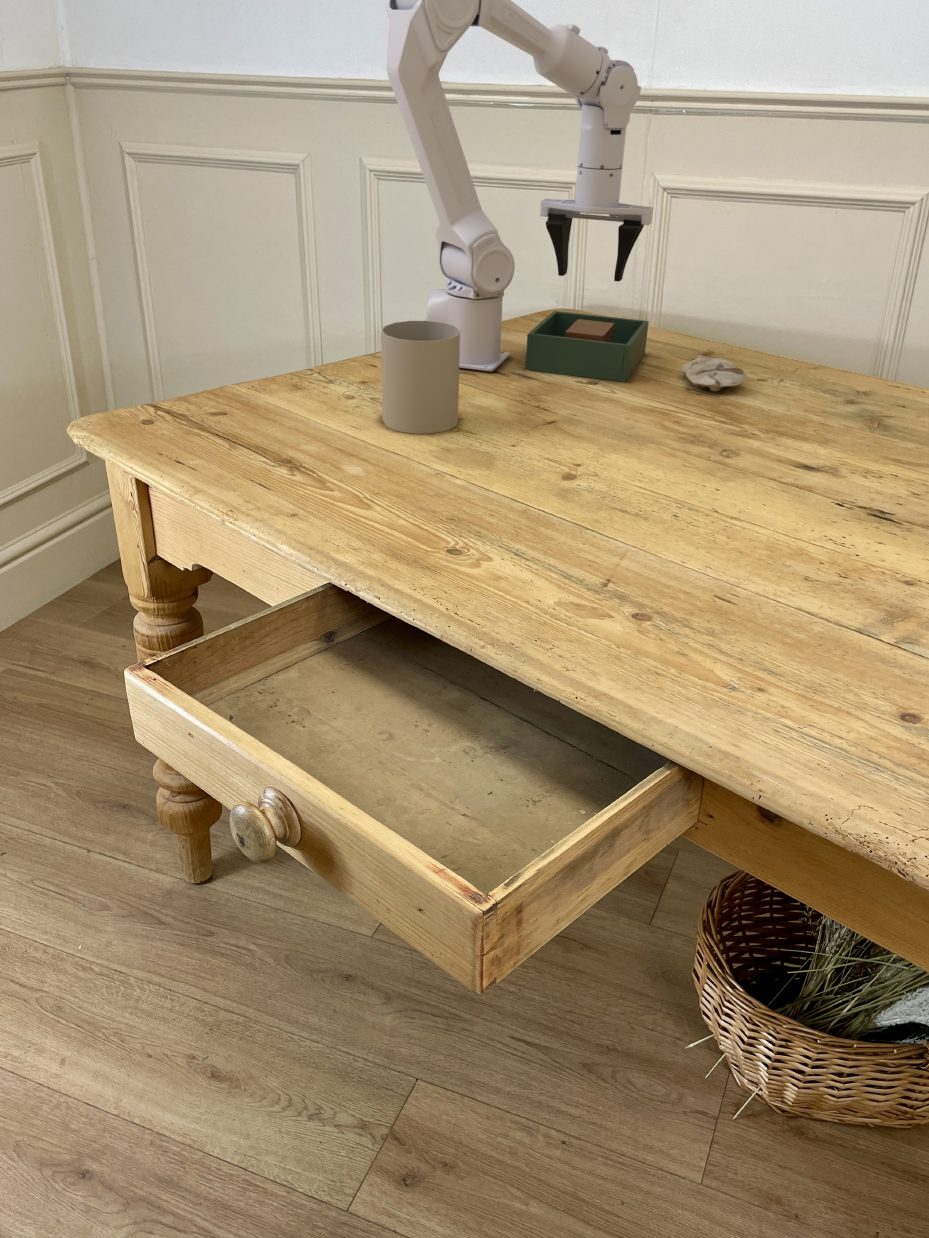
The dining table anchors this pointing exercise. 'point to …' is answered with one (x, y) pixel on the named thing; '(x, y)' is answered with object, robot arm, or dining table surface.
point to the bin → (586, 348)
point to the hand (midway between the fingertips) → (590, 277)
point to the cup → (420, 376)
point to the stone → (713, 373)
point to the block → (591, 330)
